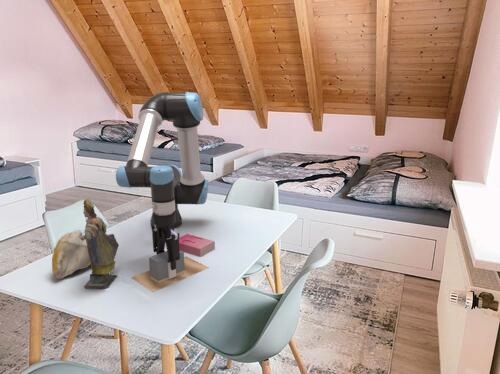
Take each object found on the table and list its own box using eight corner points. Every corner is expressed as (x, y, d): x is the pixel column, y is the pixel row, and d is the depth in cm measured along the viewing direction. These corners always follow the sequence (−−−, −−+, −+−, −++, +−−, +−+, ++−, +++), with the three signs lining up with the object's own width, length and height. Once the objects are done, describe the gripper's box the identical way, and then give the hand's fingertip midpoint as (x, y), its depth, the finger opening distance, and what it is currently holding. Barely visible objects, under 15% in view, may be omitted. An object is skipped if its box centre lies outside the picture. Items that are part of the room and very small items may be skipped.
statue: (95, 269, 146) (86, 191, 138) (123, 269, 145) (116, 191, 137) (76, 290, 131) (65, 204, 123) (108, 290, 131) (99, 204, 123)
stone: (122, 256, 155) (70, 270, 132) (99, 270, 160) (45, 286, 137) (108, 222, 157) (54, 230, 134) (85, 237, 162) (30, 247, 139)
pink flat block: (178, 231, 171) (214, 240, 160) (178, 241, 172) (215, 251, 162) (163, 237, 164) (200, 248, 153) (163, 248, 165) (200, 260, 154)
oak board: (186, 258, 154) (186, 256, 154) (209, 270, 145) (209, 267, 145) (131, 280, 138) (130, 277, 137) (153, 294, 128) (153, 291, 128)
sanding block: (176, 268, 144) (175, 247, 142) (184, 272, 141) (183, 251, 139) (150, 278, 137) (149, 257, 135) (158, 283, 133) (157, 261, 131)
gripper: (139, 208, 136) (144, 270, 142) (170, 221, 124) (174, 287, 130) (158, 204, 141) (161, 263, 147) (189, 215, 129) (192, 279, 135)
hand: (167, 274), depth 139 cm, fingers closed on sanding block, 5 cm apart
